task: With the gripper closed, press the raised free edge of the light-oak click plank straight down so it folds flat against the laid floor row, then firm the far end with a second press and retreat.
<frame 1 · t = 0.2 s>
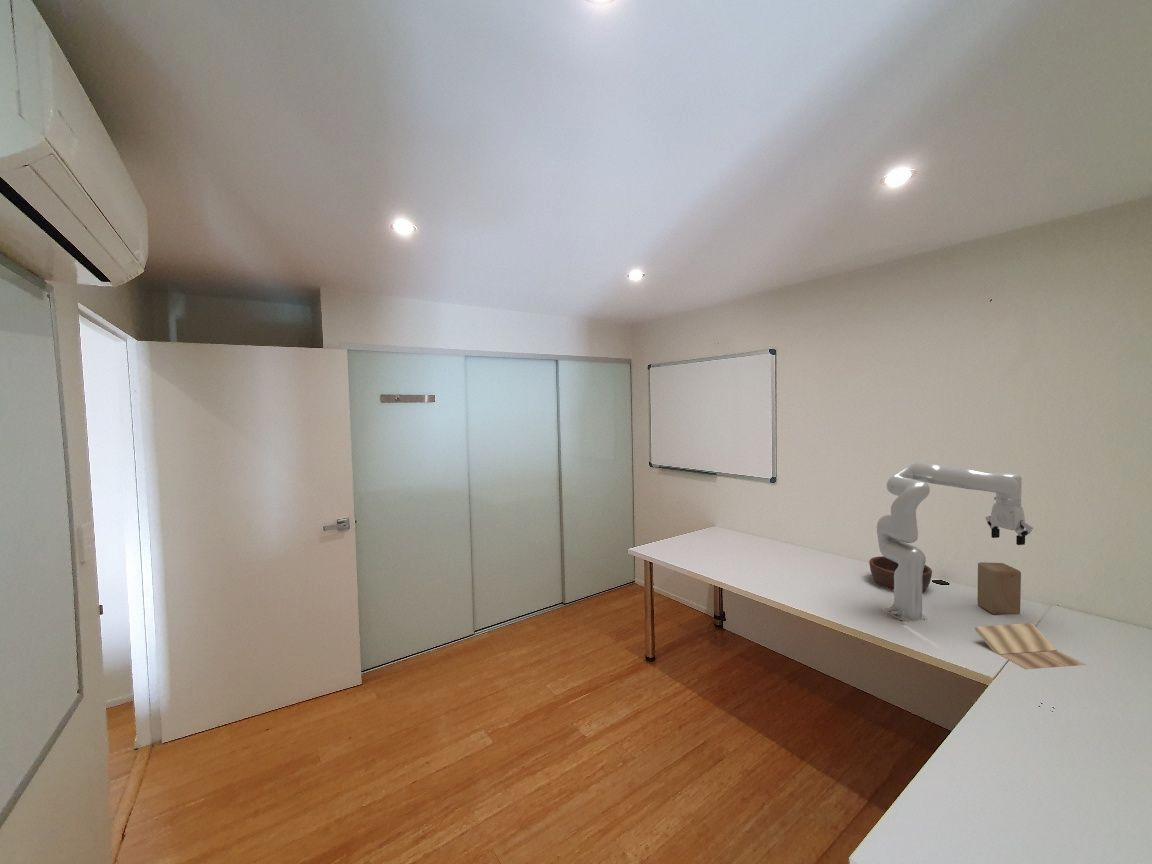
hand: (1007, 541, 179), 31 cm above the table, fingers open, 9 cm apart
click plank: (1014, 639, 153), point 4 cm above the table, hinge at 35.0°
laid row: (1042, 663, 145), on the table
wooden bowl: (899, 585, 210), on the table
wooden block: (998, 611, 180), on the table
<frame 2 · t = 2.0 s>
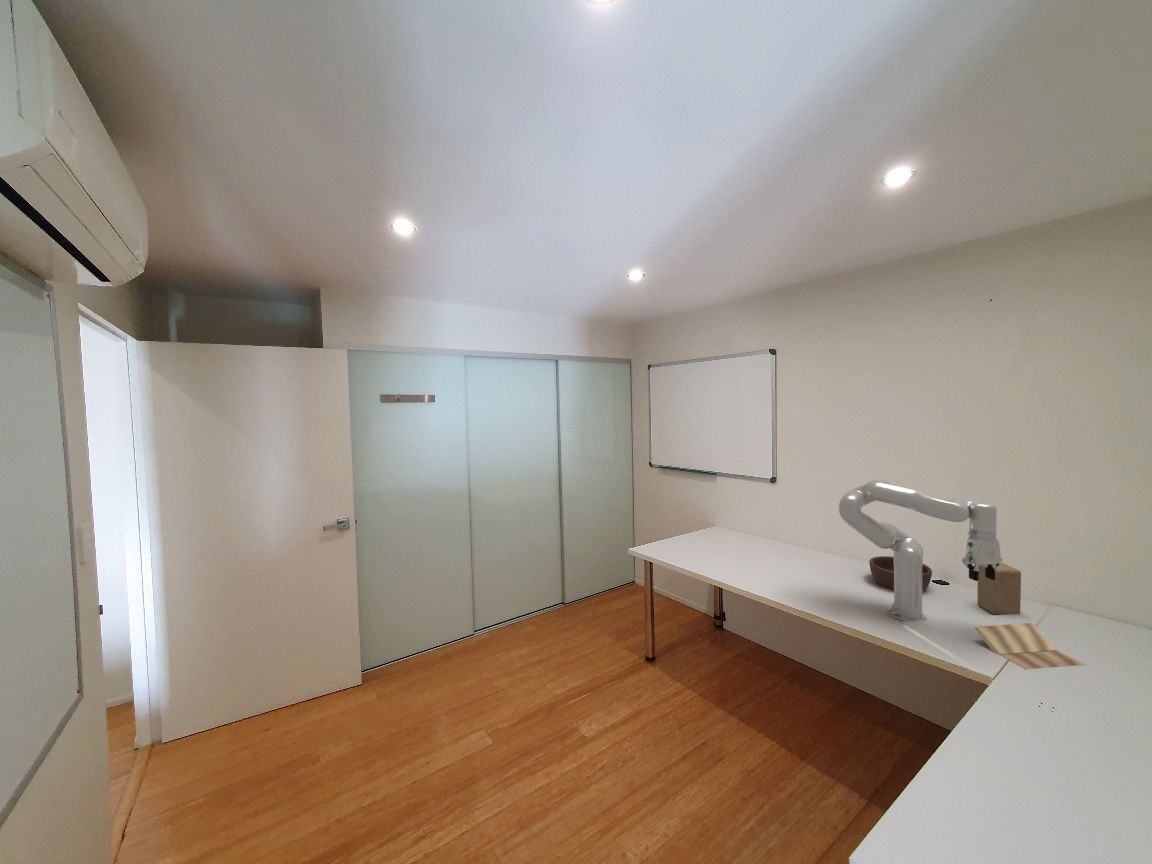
hand: (981, 578, 162), 23 cm above the table, fingers open, 6 cm apart
nothing on the table moved.
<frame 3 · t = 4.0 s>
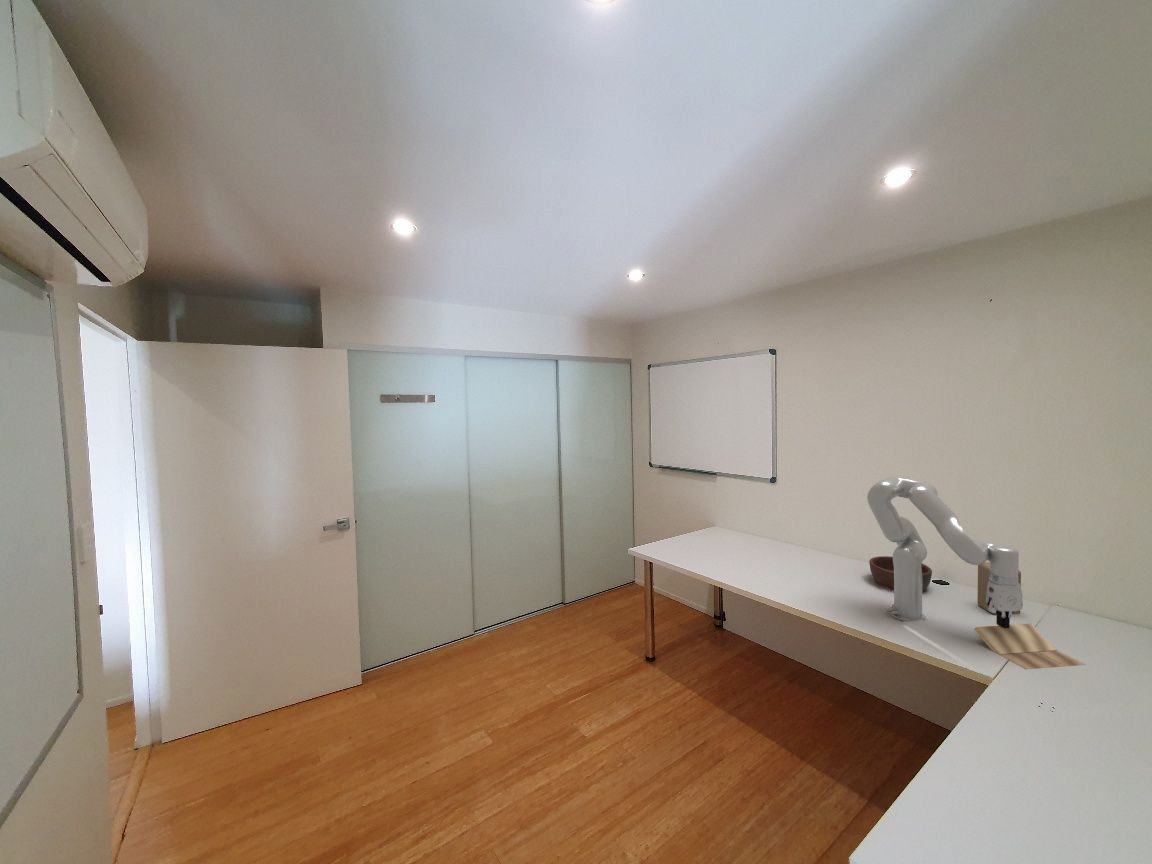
hand: (1002, 626, 156), 7 cm above the table, fingers closed
click plank: (1014, 639, 153), point 4 cm above the table, hinge at 32.9°, touching gripper
everything else where it was.
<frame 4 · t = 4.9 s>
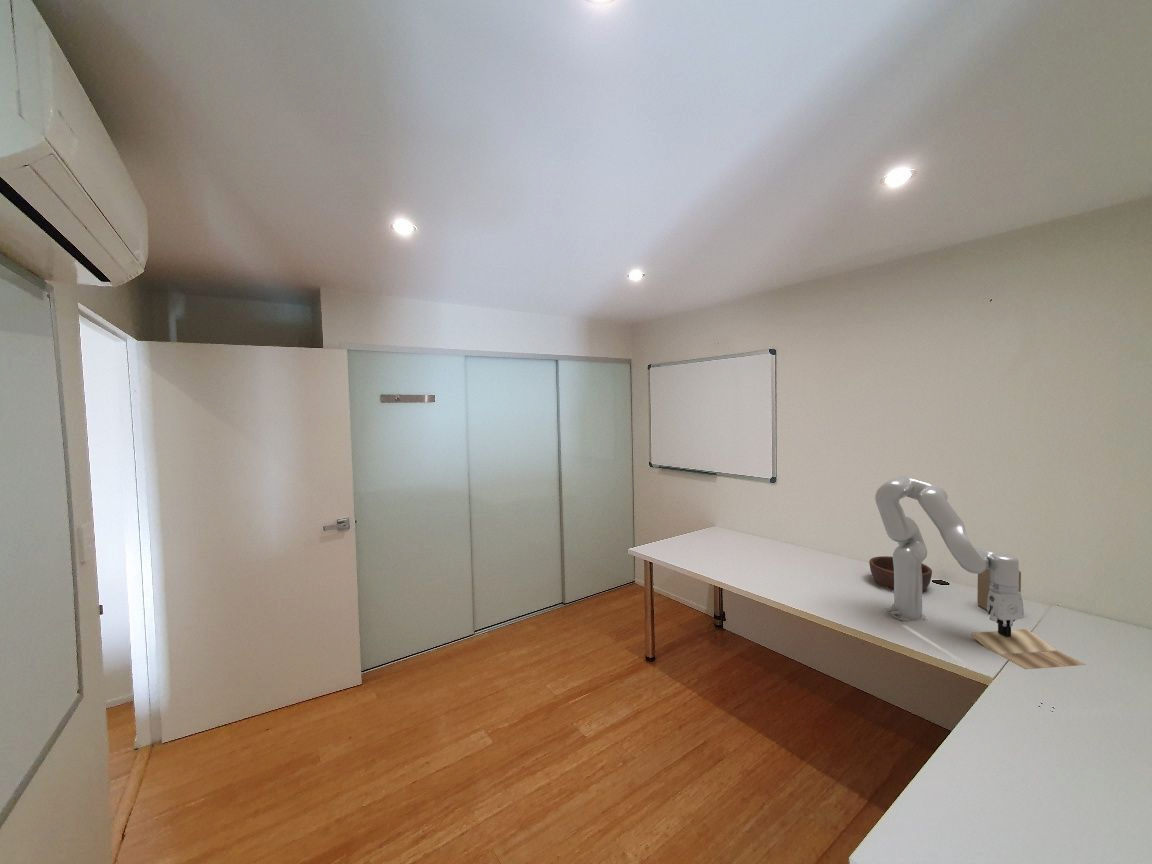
hand: (1004, 635, 156), 4 cm above the table, fingers closed
click plank: (1012, 642, 154), point 2 cm above the table, hinge at 15.2°, touching gripper
everything else where it was.
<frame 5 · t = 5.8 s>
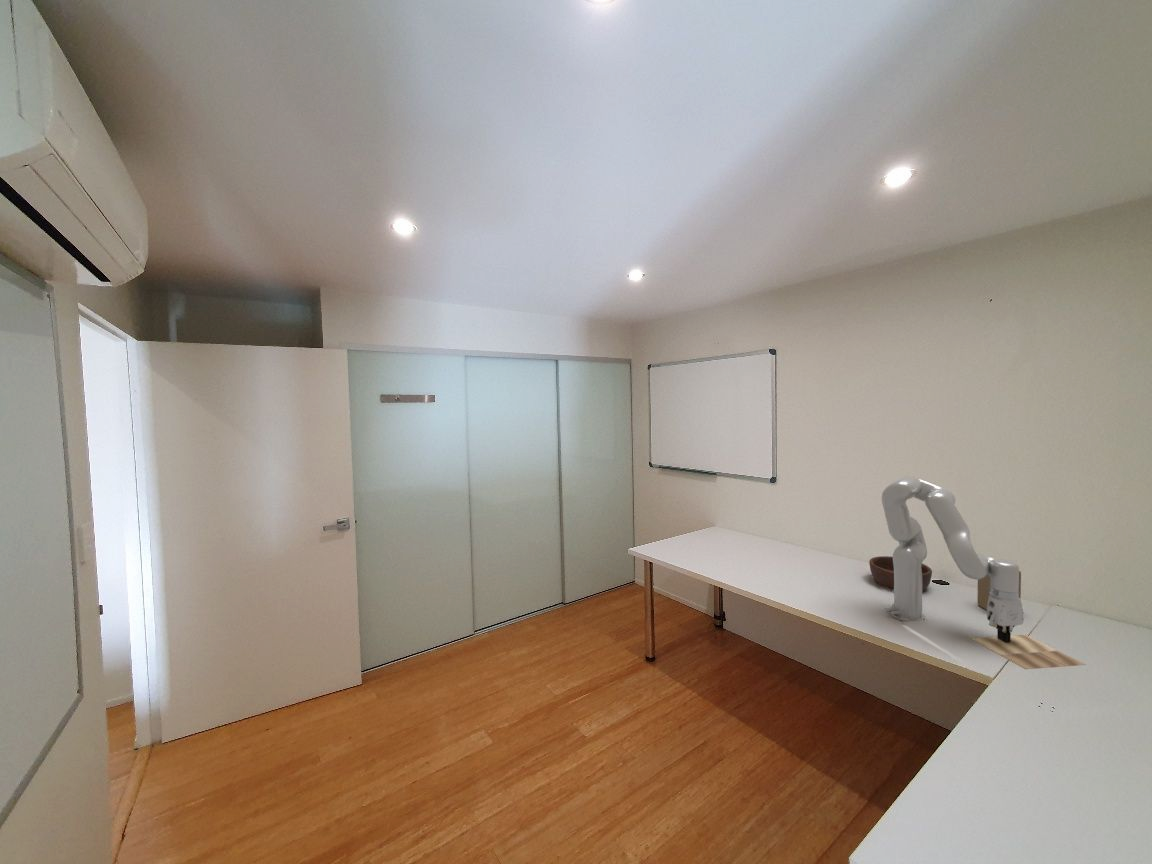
hand: (1003, 640, 156), 2 cm above the table, fingers closed
click plank: (1012, 646, 154), point 1 cm above the table, hinge at 1.3°, touching gripper
everything else where it was.
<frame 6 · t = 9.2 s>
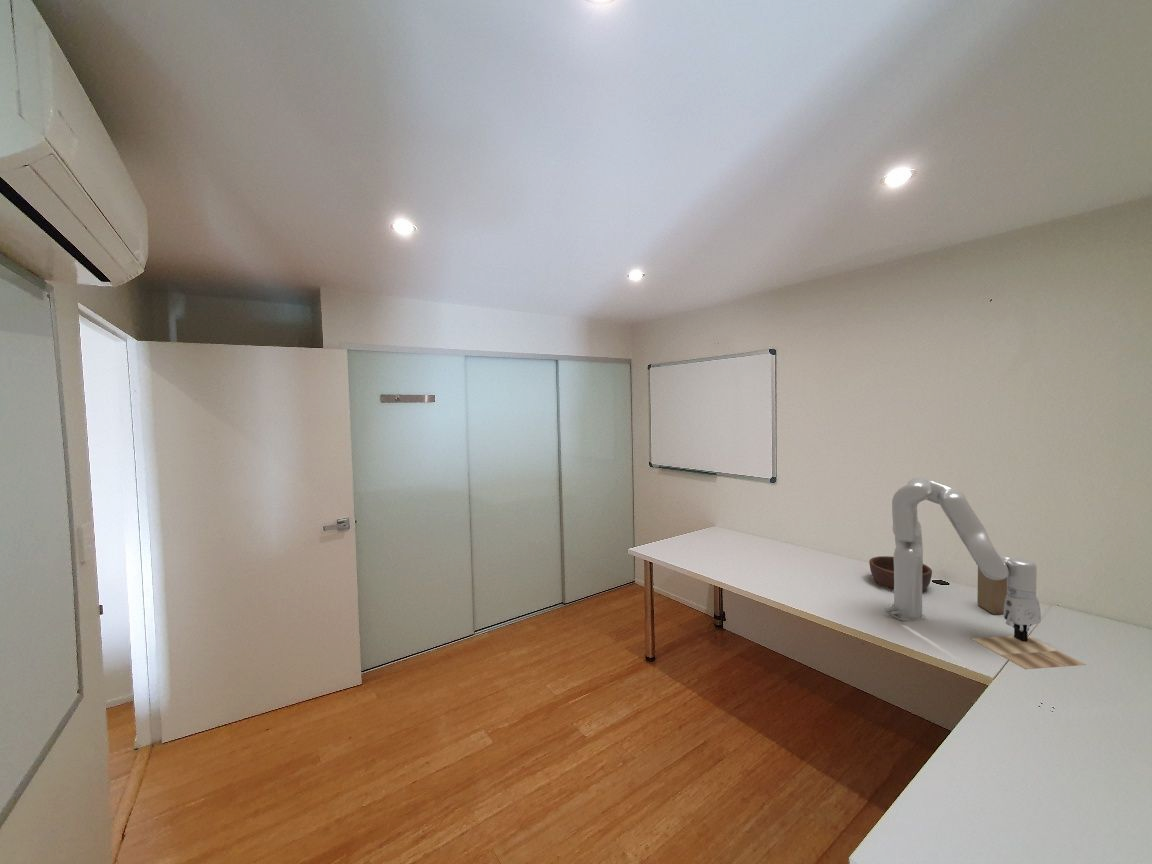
hand: (1020, 639, 157), 1 cm above the table, fingers closed
click plank: (1012, 646, 154), point 1 cm above the table, hinge at 0.8°, touching gripper
everything else where it was.
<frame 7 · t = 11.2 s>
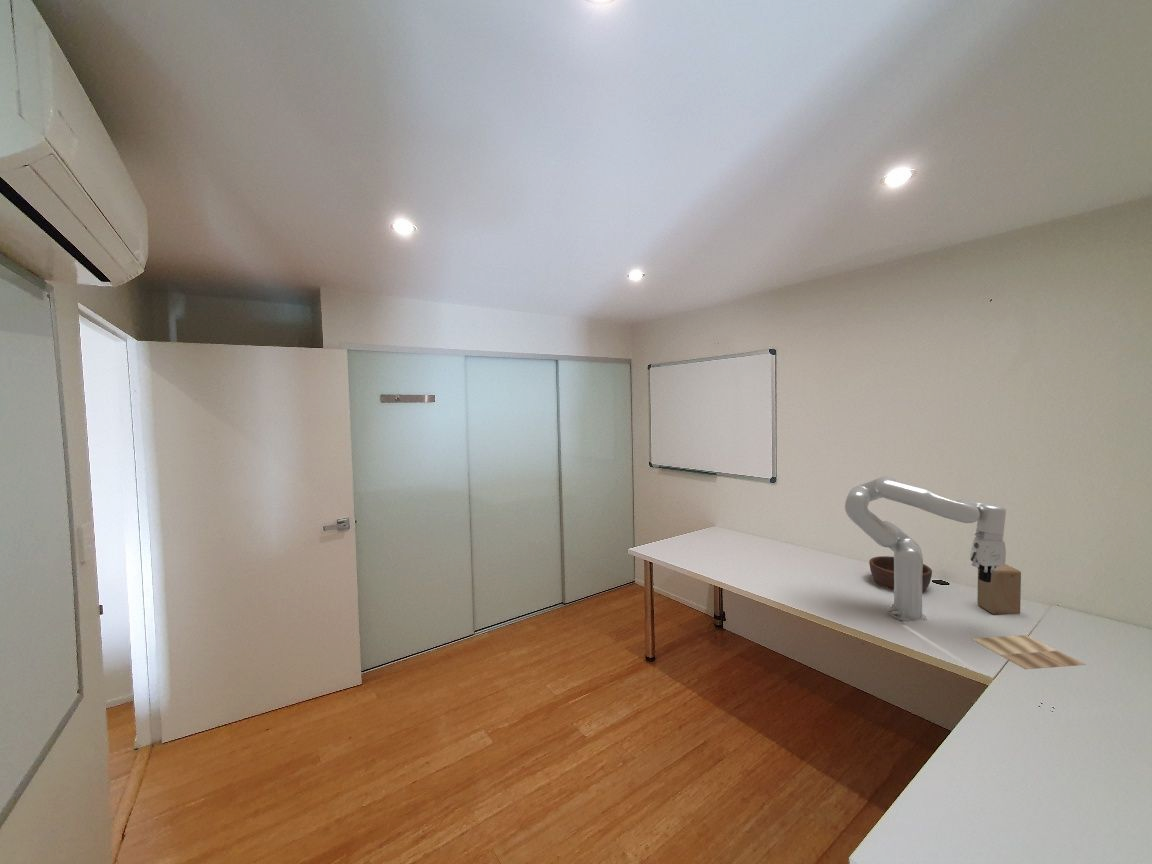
hand: (984, 580, 163), 21 cm above the table, fingers closed
click plank: (1012, 646, 154), point 1 cm above the table, hinge at 0.7°
everything else where it was.
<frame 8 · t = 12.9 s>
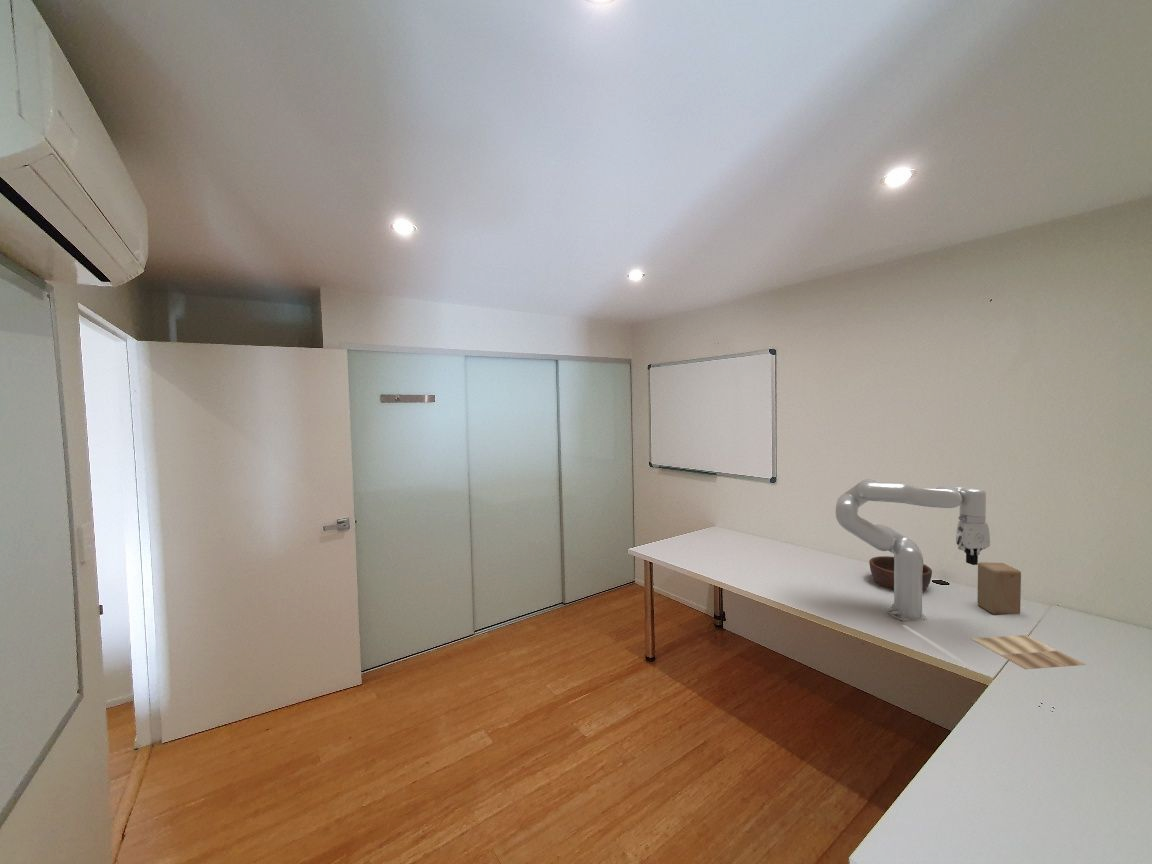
hand: (971, 563, 166), 27 cm above the table, fingers closed
nothing on the table moved.
at the end: click plank at +1° (first picture: +35°) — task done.
